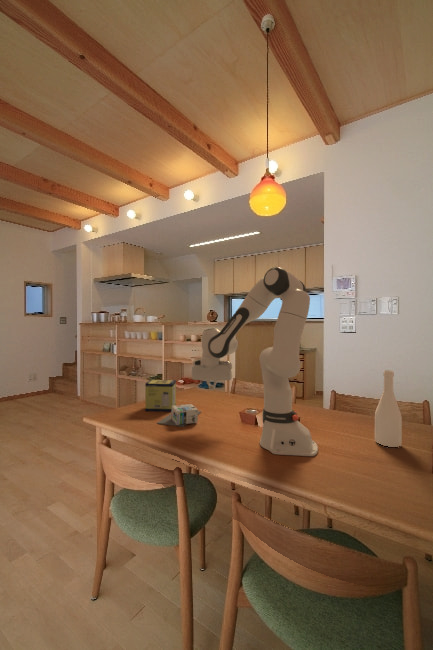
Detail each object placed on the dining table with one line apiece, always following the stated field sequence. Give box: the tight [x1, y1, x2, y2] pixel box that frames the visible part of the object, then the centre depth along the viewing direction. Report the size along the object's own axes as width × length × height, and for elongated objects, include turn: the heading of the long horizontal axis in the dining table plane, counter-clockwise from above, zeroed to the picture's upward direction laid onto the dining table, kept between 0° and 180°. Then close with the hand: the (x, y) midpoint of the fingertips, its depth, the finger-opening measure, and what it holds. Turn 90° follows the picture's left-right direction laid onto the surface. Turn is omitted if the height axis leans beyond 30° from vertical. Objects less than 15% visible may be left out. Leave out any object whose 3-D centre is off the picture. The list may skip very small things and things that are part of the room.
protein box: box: [144, 379, 177, 413], centre depth 168 cm, size 10×16×16 cm
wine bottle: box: [374, 369, 403, 448], centre depth 121 cm, size 10×10×30 cm
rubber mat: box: [156, 410, 202, 428], centre depth 152 cm, size 14×24×1 cm, turn 163°
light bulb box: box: [170, 403, 199, 425], centre depth 146 cm, size 11×7×11 cm
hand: (212, 388), depth 147 cm, fingers closed
